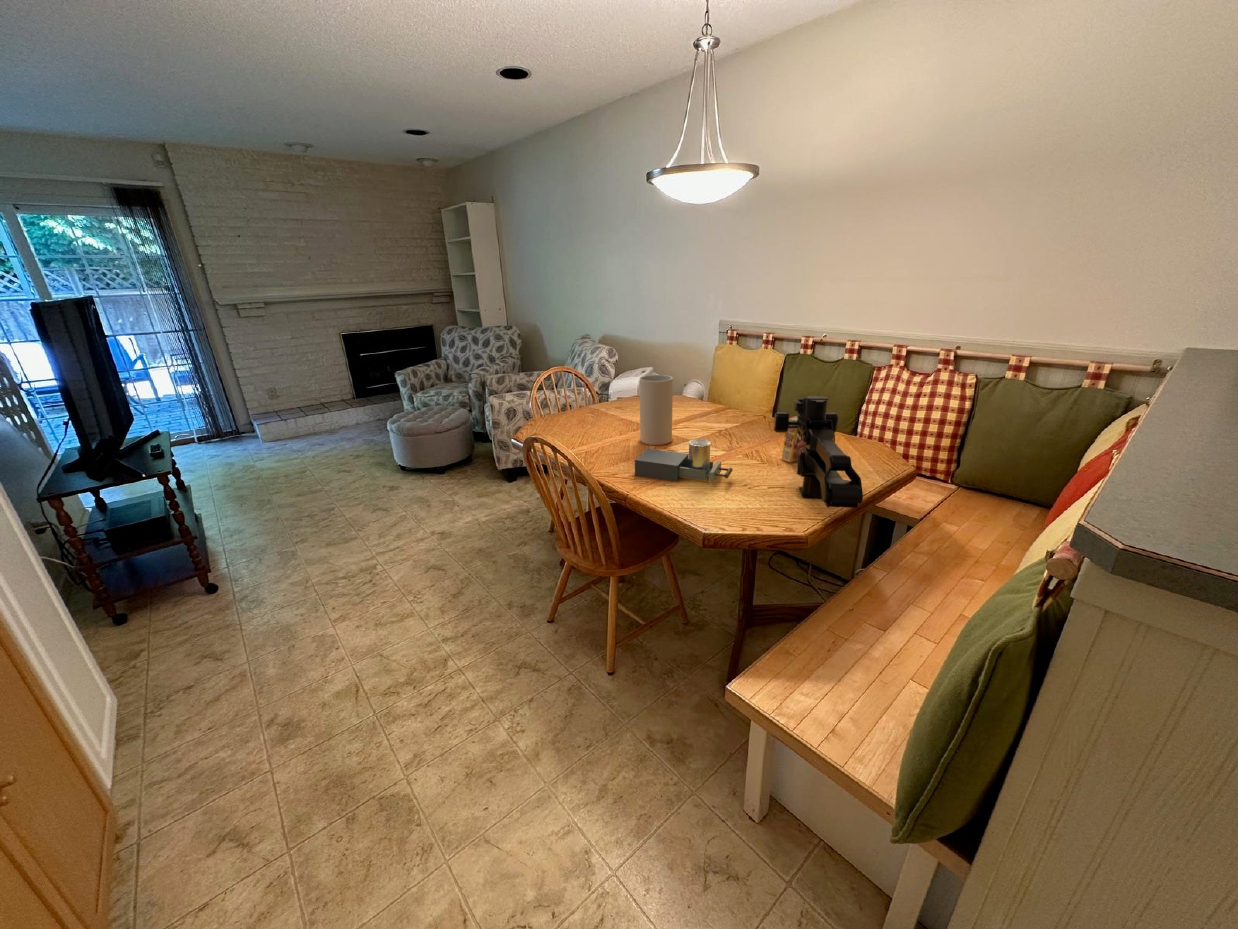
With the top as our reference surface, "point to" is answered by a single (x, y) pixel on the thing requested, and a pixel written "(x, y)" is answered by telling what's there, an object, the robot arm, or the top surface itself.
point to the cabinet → (659, 464)
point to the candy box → (792, 443)
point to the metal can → (699, 454)
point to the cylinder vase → (656, 409)
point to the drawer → (702, 472)
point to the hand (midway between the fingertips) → (799, 415)
